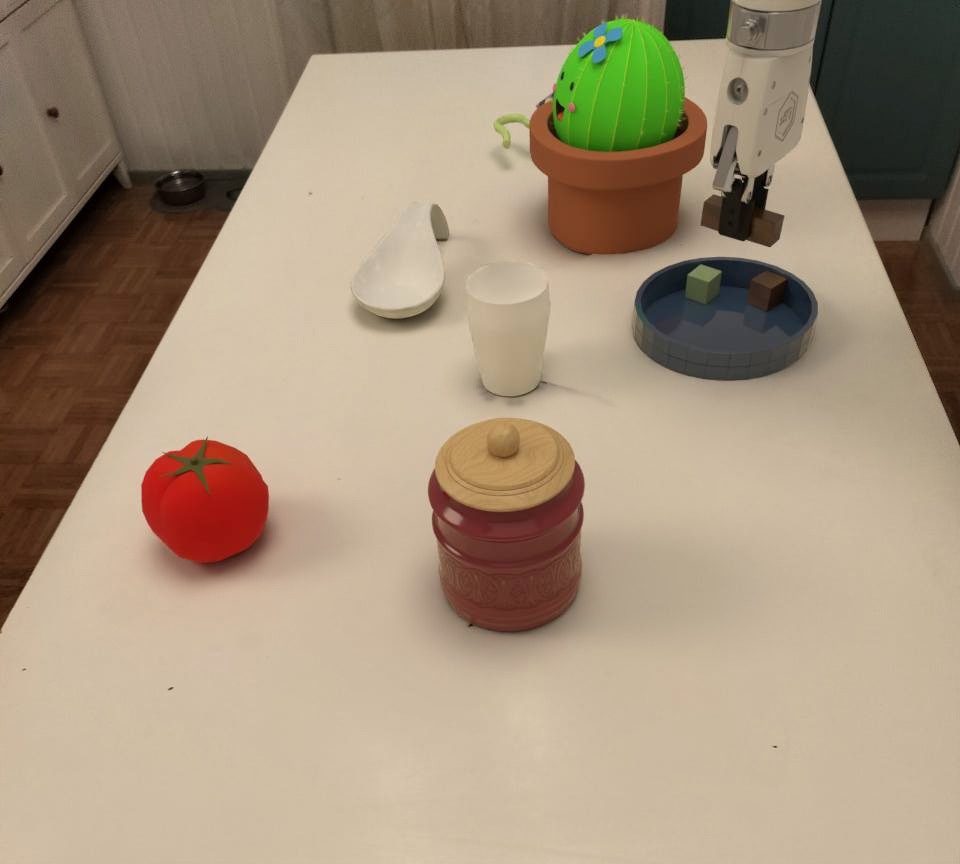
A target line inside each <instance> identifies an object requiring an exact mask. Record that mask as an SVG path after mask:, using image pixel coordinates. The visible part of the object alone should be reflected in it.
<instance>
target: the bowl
mask: <svg viewBox="0 0 960 864" xmlns="http://www.w3.org/2000/svg"><path fill="white" fill-rule="evenodd" d="M700 264H701V265H704V266H708V267H711V268H714V269H717V270H720V271H722V274H721V281H720V288H719V294H718V295H717V296H716V297H714V298H713V299H712V300H711V301H710V302H708V303H707V304H706V305H705V304H702V303H699V302H697V301H694V300H691V299H688V298H685V292H686V283H687V275H688V274H689V273H690V272H692V271H693V270H694V269H695V268H697V267H698V266H699V265H700ZM766 270H768V271H770V272H772V273H775V274H777V275H779V276H782V277H784V278H786V279H787V283H786V288H785V292H784V297H783V302H782V303H780V304H779V305H777V306H775V307H774V308H772V309H771V310H769V311H767V312H766V311H764V310H762V309H760V308H757V307H755V306H753V305H751V304H749V303H747V299H748V294H749V288H750V283H751V279H753V278H755V277H756V276H758V275H760V274H761V273H763V272H765V271H766ZM818 316H819V301H818V300H817V297H816V295H815V293H814V291H813V290H812V289H811V288H810V287H809V285H808V284H807V283H806V282H805V281H804V280H803V279H801V278H800V277H798V276H797V275H795V274H794V273H793V272H790V271H788V270H786V269H784V268H781V267H779V266H777V265H775V264H770V263H768V262H764V261H761V260H757V259H751V258H744V257H737V256H735V257H734V256H707V257H699V258H697V257H696V258H692V259H687V260H682V261H679V262H676V263H672V264H670V265H667V266H664V267H663V268H661V269H659V270H657V271H655V272H653V273H652V274H651V275H649V277H647V278H646V279H645V280H644V281H643V282H642V283H641V285H640V286H639V288H638V289H637V290H636V294H635V297H634V305H633V316H632V317H633V318H632V333H633V336H634V337H633V338H634V340H635V342H636V344H637V346H638V347H639V348H640V350H641V351H642V352H643V353H644V354H645V355H646V356H647V357H648V358H650V359H651V360H652V361H653V362H655V363H657V364H658V365H660V366H662V367H664V368H666V369H668V370H669V371H673V372H675V373H678V374H681V375H683V376H688V377H693V378H697V379H703V380H709V381H721V382H723V381H724V382H725V381H726V382H727V381H728V382H729V381H746V380H752V379H758V378H763V377H767V376H771V375H773V374H776V373H778V372H781V371H783V370H785V369H787V368H789V367H790V366H792V365H794V364H795V363H796V362H797V361H799V360H800V359H802V357H803V356H804V355H805V354H806V352H807V351H808V349H809V346H810V344H811V342H812V339H813V336H814V331H815V328H816V327H815V326H816V323H817V319H818Z"/></svg>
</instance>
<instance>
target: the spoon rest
mask: <svg viewBox="0 0 960 864" xmlns="http://www.w3.org/2000/svg"><path fill="white" fill-rule="evenodd" d="M450 235H451V234H450V228H449V224H448V221H447V218H446V216H445V214H444V211H443V209H442V208H441V206H440V205H439V204H437V203H436V202H430V203H425V204H424V203H420V202H416V201H411V202H409V203H408V204H406V206H405V207H404V208H403V209H402V211H401V212H400V214H399V216H398V217H396V220H395V221H394V223H393V224H392V225H391V227H390V228H389V229H388V230H387V232H386V233H385V234H384V235H383V237H382V238H381V239H379V241H378V243H377V244H376V245H375V246H374V247H373V248H372V249H371V250H370V251H369V253H368V254H367V255H366V256H365V258H364V259H363V260H362V261H361V263H360V264H359V265H358V267H357V268H356V270H355V271H354V273H353V275H352V277H351V281H350V291H351V294H352V296H353V298H354V299H355V301H356V302H357V303H358V304H359V305H360V306H361V307H362V308H364V309H366V310H367V311H368V312H370V313H372V314H374V315H376V316H379V317H382V318H386V319H405V318H410V317H414V316H417V315H420V314H421V313H424V312H425V311H427V310H428V309H429V308H430V307H432V306H433V305H434V303H435V302H436V301H437V300H438V298H439V297H440V295H441V293H442V292H443V288H444V286H445V282H446V269H445V263H444V260H443V256H442V253H441V251H440V250H441V249H440V247H439V244H438V241H437V240H445V239H448V238H449V237H450Z"/></svg>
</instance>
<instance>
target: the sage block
mask: <svg viewBox="0 0 960 864" xmlns="http://www.w3.org/2000/svg"><path fill="white" fill-rule="evenodd" d="M721 274H722V271H720V270H717V269H714V268H711V267H708V266H704V265H701V264H700V265H699V266H698V267H697V268H695V269H694V270H693V271H692V272H690V273H689V274H688V275H687V283H686V292H685V298H688V299H691V300H694V301H697V302H699V303H702V304H705V305H706V304H707V303H708V302H710V301H711V300H712V299H713V298H714V297H716V296H717V295H718V294H719V288H720V281H721Z"/></svg>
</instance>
